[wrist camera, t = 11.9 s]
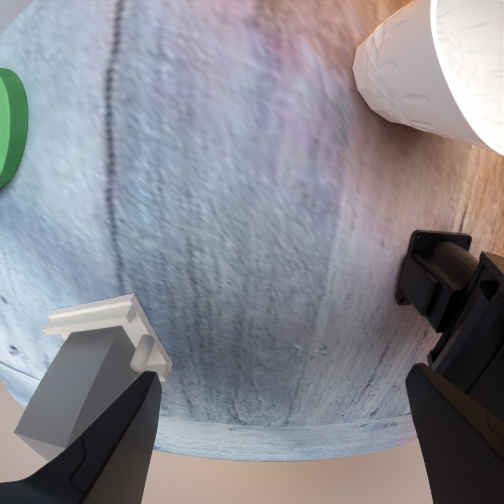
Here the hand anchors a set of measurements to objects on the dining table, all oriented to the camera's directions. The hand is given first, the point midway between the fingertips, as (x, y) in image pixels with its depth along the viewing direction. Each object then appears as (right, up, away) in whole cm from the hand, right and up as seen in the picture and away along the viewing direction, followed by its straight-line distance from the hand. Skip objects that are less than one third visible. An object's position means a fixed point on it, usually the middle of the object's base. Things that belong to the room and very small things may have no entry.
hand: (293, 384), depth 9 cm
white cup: (+8, +16, +6) cm, 19 cm away
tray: (-14, -4, +15) cm, 21 cm away
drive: (-14, -4, +14) cm, 20 cm away
